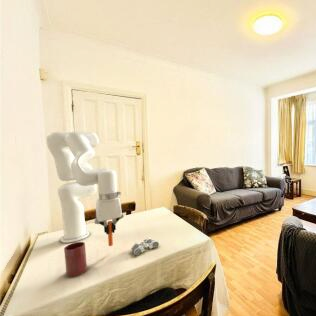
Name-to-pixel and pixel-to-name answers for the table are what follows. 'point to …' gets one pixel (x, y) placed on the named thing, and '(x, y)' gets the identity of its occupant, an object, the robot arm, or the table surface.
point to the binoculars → (147, 243)
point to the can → (75, 259)
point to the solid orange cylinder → (110, 233)
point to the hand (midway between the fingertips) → (110, 232)
